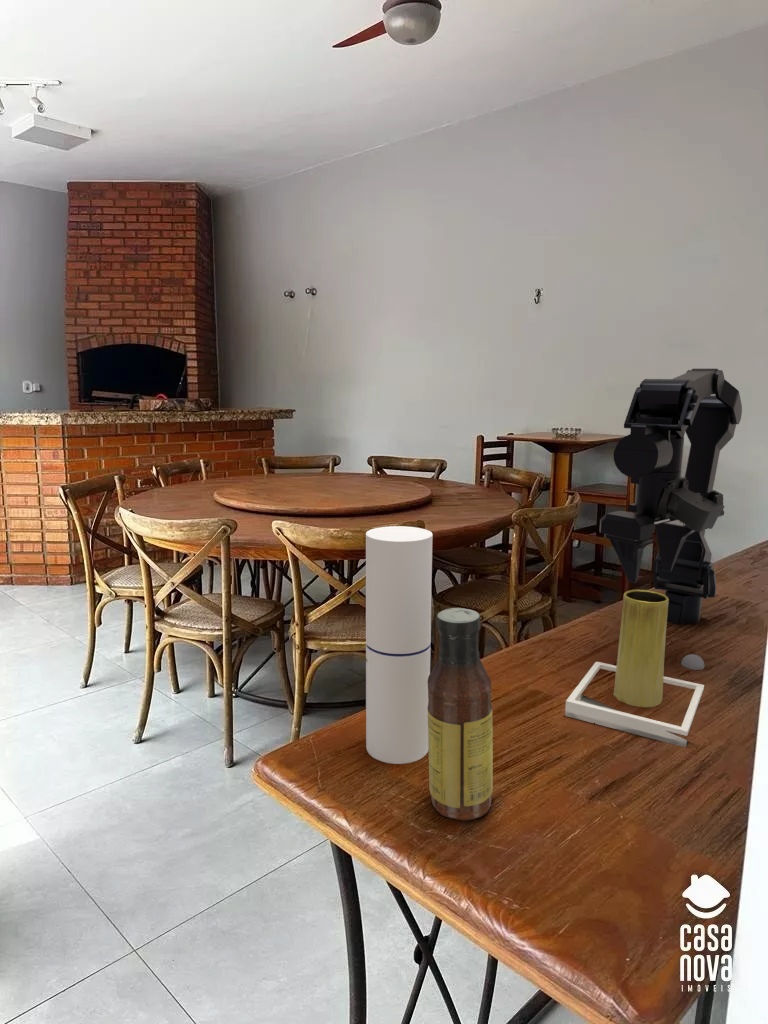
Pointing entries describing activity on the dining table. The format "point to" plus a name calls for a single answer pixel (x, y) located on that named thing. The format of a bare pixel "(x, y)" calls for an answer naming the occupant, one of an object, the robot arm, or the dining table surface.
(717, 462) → the robot arm
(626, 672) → the vase
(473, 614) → the sauce bottle
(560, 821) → the dining table surface
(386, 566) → the cylindrical container
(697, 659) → the mixing ball
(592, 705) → the tray
